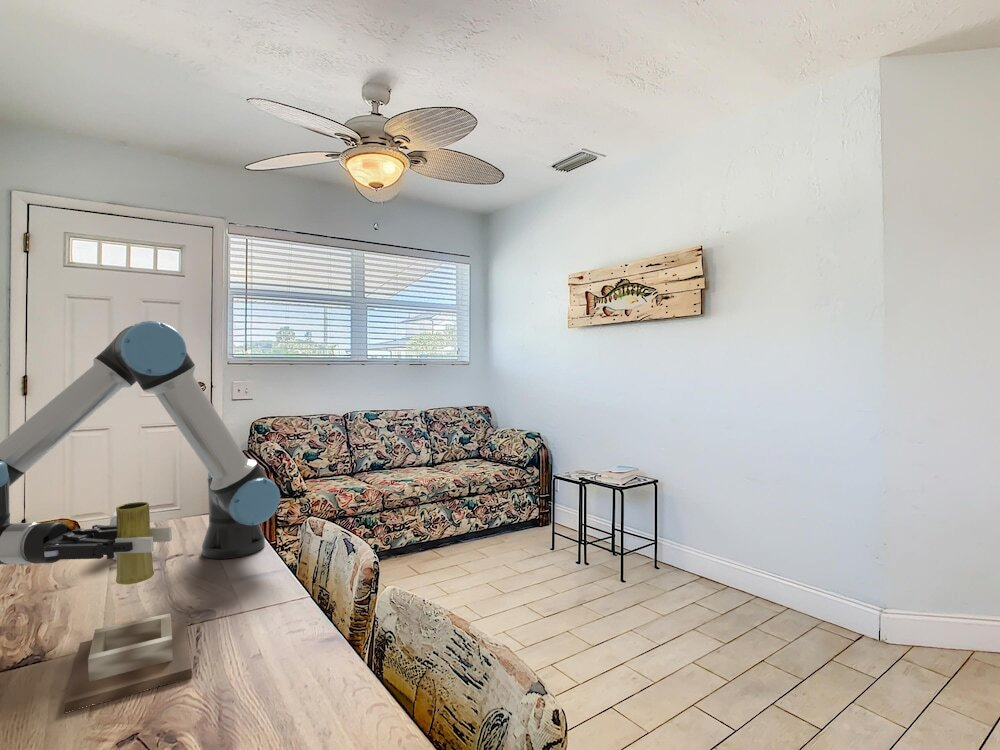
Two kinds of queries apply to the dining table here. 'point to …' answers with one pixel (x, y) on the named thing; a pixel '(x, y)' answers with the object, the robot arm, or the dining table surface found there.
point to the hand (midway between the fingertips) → (161, 539)
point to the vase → (131, 524)
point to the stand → (129, 660)
